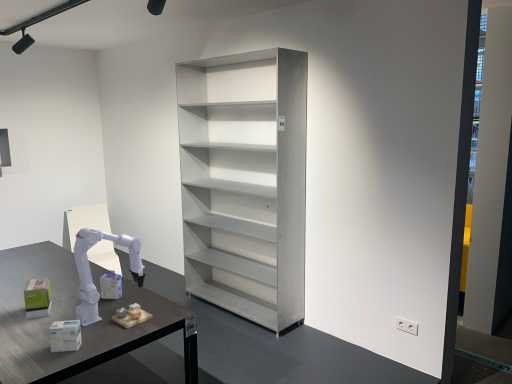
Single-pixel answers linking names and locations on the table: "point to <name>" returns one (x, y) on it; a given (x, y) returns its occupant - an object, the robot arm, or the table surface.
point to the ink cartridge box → (111, 285)
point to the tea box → (37, 298)
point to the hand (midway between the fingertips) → (138, 284)
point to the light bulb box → (65, 336)
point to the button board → (131, 319)
